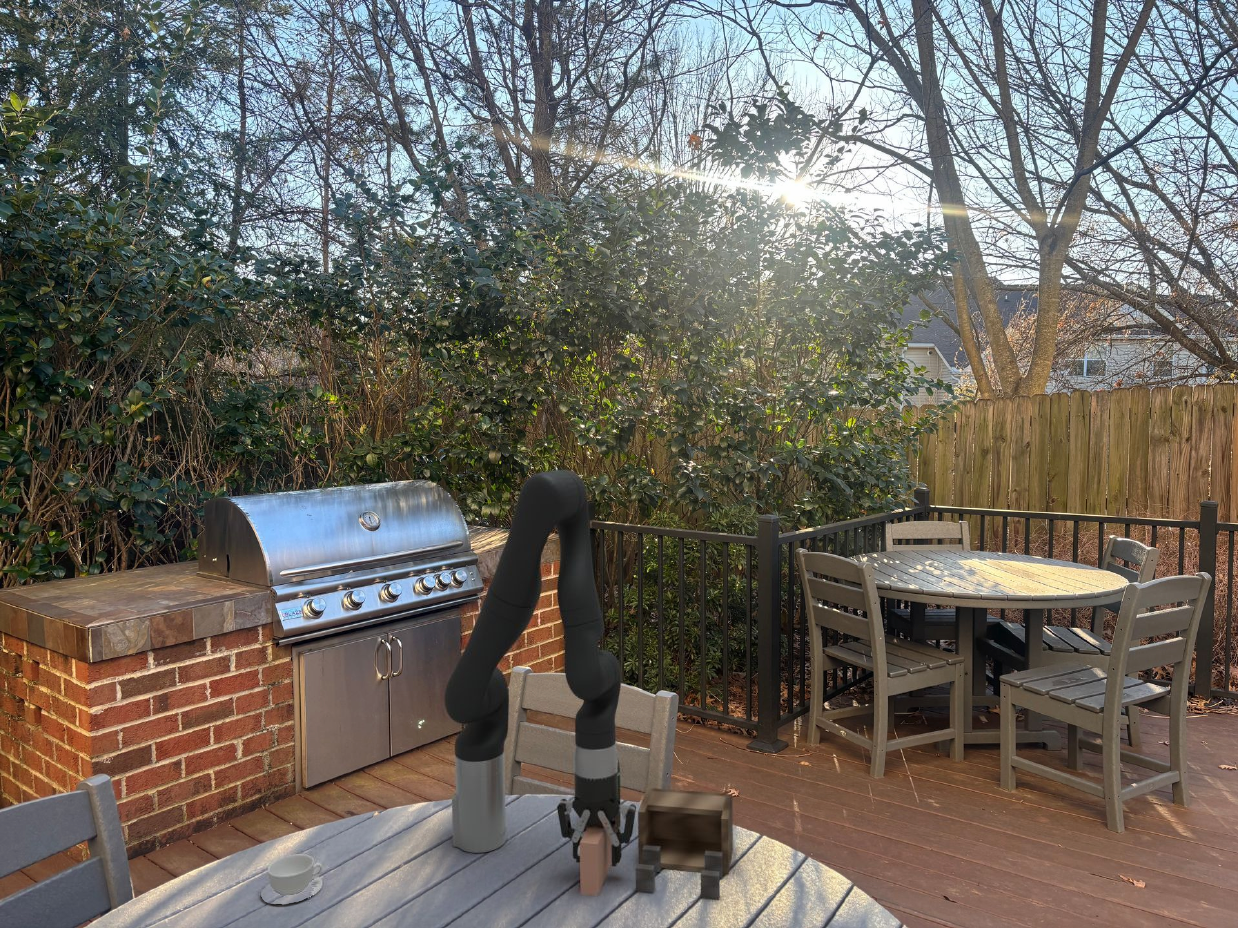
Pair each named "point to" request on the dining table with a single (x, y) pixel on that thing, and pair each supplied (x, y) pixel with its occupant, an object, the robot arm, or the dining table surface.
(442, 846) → the dining table surface
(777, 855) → the dining table surface
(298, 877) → the teacup
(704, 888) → the cabinet
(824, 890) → the dining table surface
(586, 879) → the door
